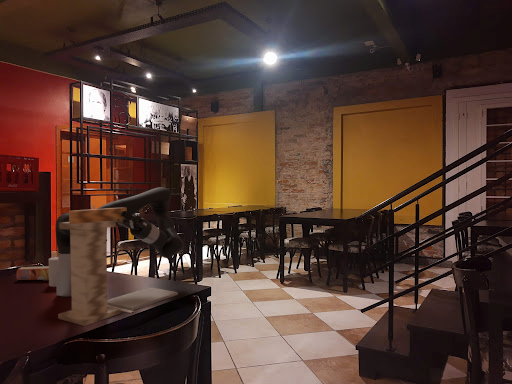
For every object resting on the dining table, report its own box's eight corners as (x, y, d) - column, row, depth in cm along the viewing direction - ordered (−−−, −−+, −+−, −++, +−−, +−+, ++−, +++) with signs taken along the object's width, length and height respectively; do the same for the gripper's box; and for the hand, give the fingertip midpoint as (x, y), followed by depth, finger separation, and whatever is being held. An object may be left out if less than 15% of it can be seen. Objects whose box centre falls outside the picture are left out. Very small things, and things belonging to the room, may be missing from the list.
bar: (119, 218, 144) (119, 207, 144) (126, 218, 142) (126, 207, 142) (69, 222, 127) (69, 210, 127) (76, 223, 125) (76, 211, 125)
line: (130, 313, 133) (130, 312, 133) (94, 304, 144) (94, 303, 144) (134, 312, 135) (134, 311, 135) (97, 303, 145) (97, 302, 145)
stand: (95, 307, 141) (93, 219, 140) (120, 313, 133) (118, 220, 133) (58, 318, 129) (56, 222, 129) (83, 325, 122) (81, 224, 121)
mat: (131, 310, 136) (131, 307, 136) (102, 303, 145) (102, 301, 145) (177, 294, 156) (177, 292, 156) (149, 289, 164) (149, 287, 164)
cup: (53, 282, 180) (53, 256, 179) (72, 281, 180) (71, 256, 180) (45, 287, 172) (45, 260, 171) (64, 286, 172) (64, 259, 172)
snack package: (14, 282, 183) (14, 267, 182) (23, 278, 189) (23, 265, 189) (59, 281, 182) (59, 267, 182) (66, 278, 189) (66, 264, 189)
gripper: (136, 221, 157) (106, 203, 145) (161, 222, 150) (132, 203, 138) (129, 238, 154) (97, 221, 142) (154, 240, 147) (123, 222, 135)
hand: (114, 212), depth 140 cm, fingers open, 8 cm apart
